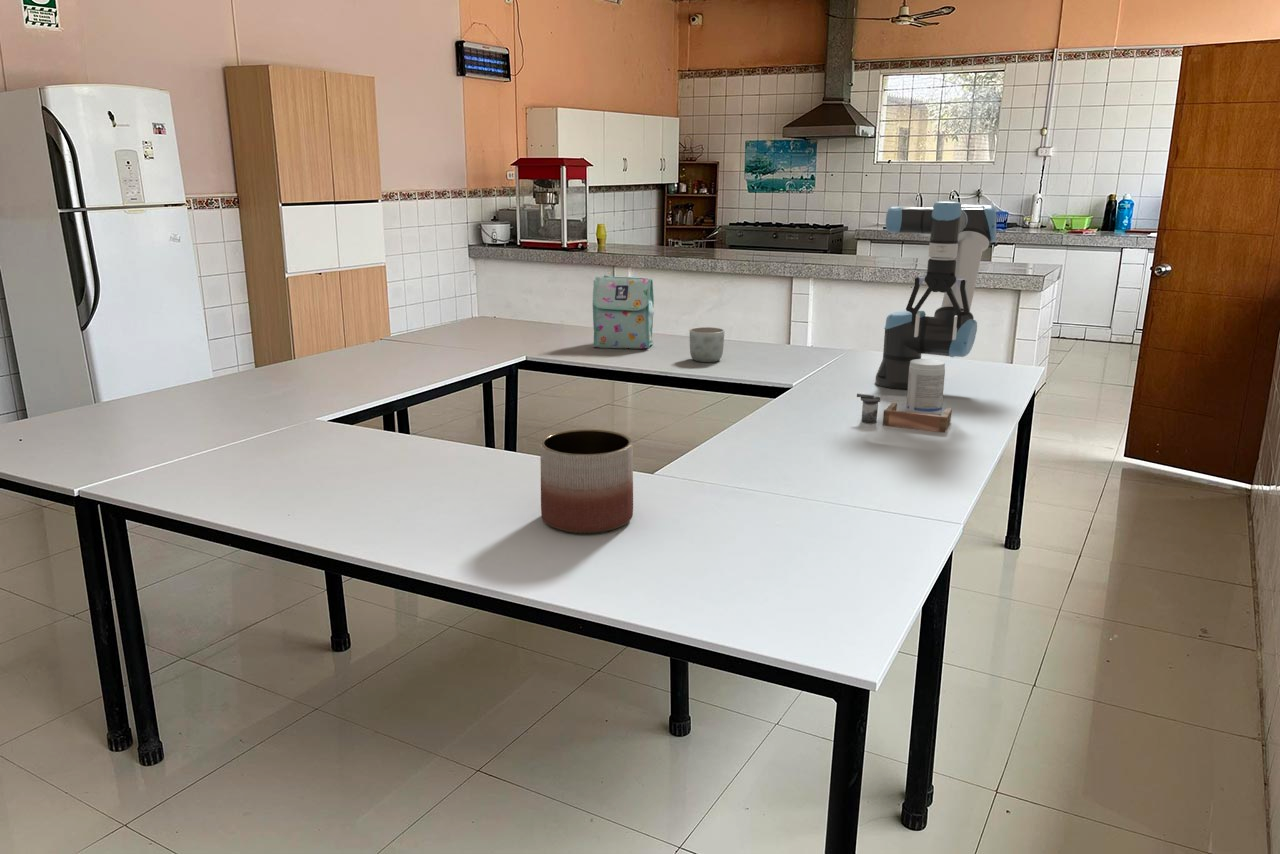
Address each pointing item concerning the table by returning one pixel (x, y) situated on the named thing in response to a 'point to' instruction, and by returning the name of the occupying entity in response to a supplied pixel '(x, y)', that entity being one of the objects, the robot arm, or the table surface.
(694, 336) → the planter
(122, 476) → the table surface
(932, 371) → the supplement tub
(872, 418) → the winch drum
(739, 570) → the table surface
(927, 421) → the bay
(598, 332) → the lunch bag
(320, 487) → the table surface
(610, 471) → the planter
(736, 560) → the table surface
